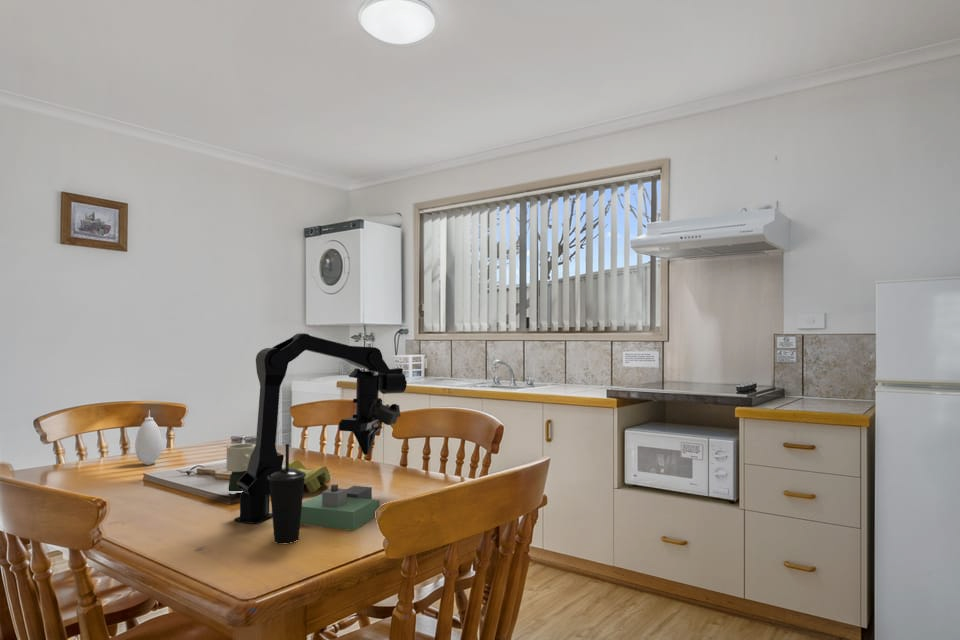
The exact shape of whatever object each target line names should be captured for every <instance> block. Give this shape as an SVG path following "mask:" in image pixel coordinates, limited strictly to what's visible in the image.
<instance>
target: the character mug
mask: <svg viewBox="0 0 960 640" xmlns="http://www.w3.org/2000/svg"><path fill="white" fill-rule="evenodd" d="M255 445H256V444H254V443H235V444H230V445H228V446H227V447H226V471H229V472H231V474H230V476H229V482H228V489H227V491H228V490H229V491H241V490H239V487H238V485H237V481H238V480H239V479H240V478H241V477H242V476H243V475H244V474H245V473H246V472H247V468H248V464H249V460H250V457H251V454H252V452H253V450H254V448H255Z"/></svg>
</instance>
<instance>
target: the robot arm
mask: <svg viewBox="0 0 960 640" xmlns="http://www.w3.org/2000/svg"><path fill="white" fill-rule="evenodd" d="M305 351H307V352H311V353H315V354H320V355H324V356H328V357H332V358H336V359H341V360H343V361H345V362H347V363H349V364H351V365H352V366H355V367H357V368H354V369H353V371H351V372H350V373H349V375H348V377H349V378H353V379H356V389H355V390H356V391H355V392H356V397H355V398H352V403H354V404H355V413H353V414H352V417H347V418H342V419H341V420H340V421H339V422H338V431H339V432H340V431H341V432H352V433H353V435H354V436H355V440H356V441H357V443H358V445H359V447H360V449H361V452H362V454H363V455H365V456H368V455H369V454H370V453H371V452H370V451H371V448H372V445H373V442H374V439H375V435H376V434H377V433H378V432H379V431H380V430H381V429H383V426H379V423H382V424H385V425H387V426H391V425H395V424H396V423H397V420H398V418H400V417H401V411H400V405H398V404H396V403H392V404H390V406H389V405H385V404H383V399H382V398H381V397H379V391H380V393H381V394H383V395H386V394H387V395H389V394H390V395H391V394H403V393H404V392H405V391H406V390H407V383H408V380H407V379H406V376H405V373H403V372H404V371H403V368H402V367H394V368H390V367H389V366H388V365H387V363H386V360H384V357H383V354H382V351H381V350H380V349H379V348H377V347H376V346H375V347H373V346H359V345H358V346H357V345H349V344H345V343H341V342H337V341H334V340H333V341H332V340H330V339H329V340H328V339H325V338H321V337H318V336H317V337H316V336H313V335H310V334H309V333H301V332H300V333H296V334H294V335H293V336H291V337H290V338H287V339H286V340H284V341H282V342H280V343H278V344H276V345H274V346H273V347H265V348H263V349H261V350H260V351H259V352H257V354H256V357H255V368H256V374H257V375H256V376H257V379H258V382H259V399H258V400H259V401H258V411H257V425H256V439H255V444H254V445H255V448H254V450H253V452H252V454H251V457H250V460H249V464H248V468H247V472H246V473H245V474H244V475H243V476H242V477H241V478H240V479H239V480H238V481H237V485H238V487H239V490H241V491H243V492H242V494H239V516H237V517H236V518H234V519H233V520H234V522H240V523H241V522H242V523H249V524H259V523H262V522H264V521H266V520H268V519H272V512H270V495H271V494H270V483H269V479H268V475H270V474H272V473H274V472H275V471H278V470H280V469H282V468H283V462H284V456H285V455H284V454H282V453H280V452H278V450H277V447H276V445H277V434H278V433H277V430H278V419H279V404H280V394H281V393H280V390H281V385H282V383H283V382H284V379H285V377H286V374H287V369H288V366H289V363H290V362H292V361H294V360H296V359H297V358H298V357H299V356H300V355H301V354H302V353H303V352H305ZM361 369H366V370H361ZM374 373H377V374H374Z"/></svg>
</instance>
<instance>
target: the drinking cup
mask: <svg viewBox="0 0 960 640" xmlns="http://www.w3.org/2000/svg"><path fill="white" fill-rule="evenodd" d="M289 464H290V444H289V443H286V444H285V466H284V467H285V469H280V470H278V471H275V472H274V473H272V474H270V475H268V479H269V483H270V494H269V495H270V503H271V505H270V506H271V513H272V517H271V519H272V526H273V539H274V540H273V541H274V543H275V542H277V543H276V544H278V543H289V544H291V543H290V542H293V543H295V542H294V541H296V540H298V541H299V539H300V538H299V537H300V528H301V524H300V520H301V509H302V503H303V497H304V488H305V487H304V485H305V484H304V478H305V477H306V473H305V472H302V471H300V470H297V469H292V468H289ZM296 542H297V541H296Z"/></svg>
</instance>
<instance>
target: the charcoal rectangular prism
mask: <svg viewBox="0 0 960 640" xmlns="http://www.w3.org/2000/svg"><path fill="white" fill-rule="evenodd" d="M346 489H347V497H353V498H363V499H372V497H373V496H372V494H373V493H372V492H373V489H372V487H371V486H360V485H352V486H350V487H348V488H346Z"/></svg>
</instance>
